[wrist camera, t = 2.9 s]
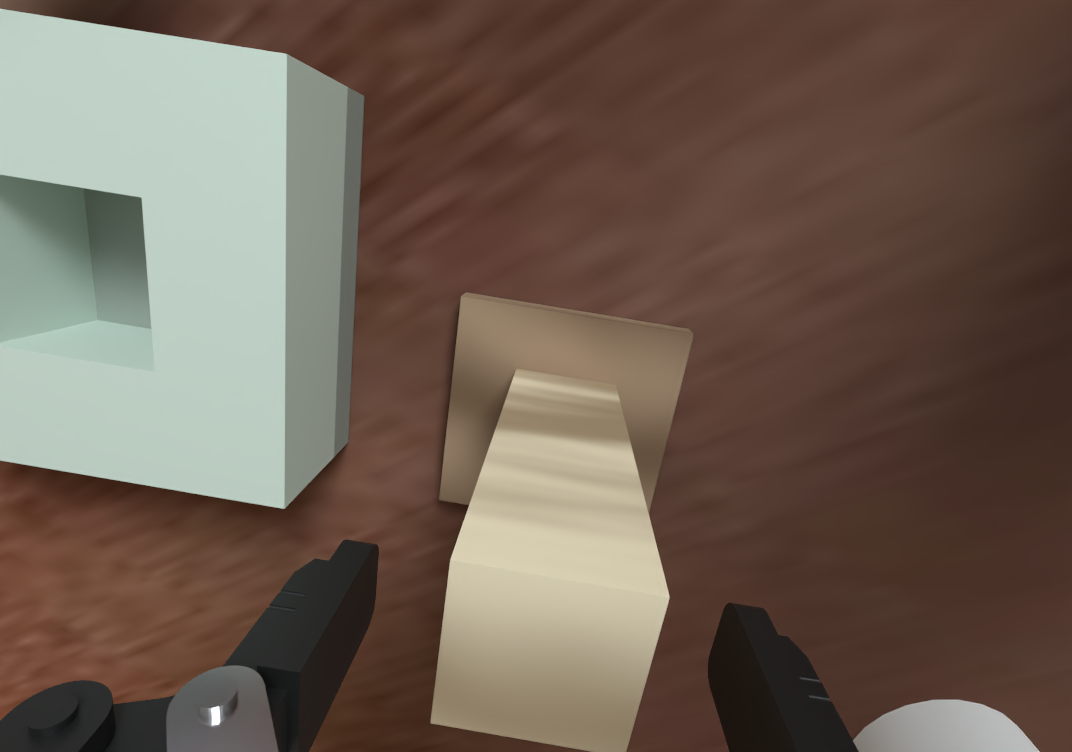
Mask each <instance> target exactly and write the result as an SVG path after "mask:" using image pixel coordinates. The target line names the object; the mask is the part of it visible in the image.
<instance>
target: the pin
mask: <svg viewBox="0 0 1072 752" xmlns="http://www.w3.org/2000/svg"><path fill="white" fill-rule="evenodd" d="M669 598H670V596H669V592H668V589H667V585H666V581H665V577H664V573H663V569H662V565H661V561H660V557H659V553H658V549H657V545H656V541H655V537H654V533H653V529H652V525H651V521H650V517H649V513H648V510H647V506H646V502H645V498H644V494H643V490H642V486H641V482H640V478H639V474H638V470H637V466H636V462H635V458H634V454H633V450H632V446H631V442H630V438H629V434H628V431H627V427H626V423H625V419H624V415H623V411H622V407H621V403H620V399H619V395H618V391H617V387H616V385H613V384H607V383H601V382H595V381H589V380H582V379H576V378H570V377H564V376H558V375H552V374H546V373H540V372H534V371H528V370H522V369H516V371H515V374H514V377H513V380H512V383H511V386H510V388H509V391H508V394H507V397H506V400H505V403H504V406H503V409H502V412H501V415H500V417H499V420H498V423H497V426H496V429H495V432H494V435H493V438H492V441H491V443H490V446H489V449H488V452H487V455H486V458H485V461H484V464H483V467H482V469H481V472H480V475H479V478H478V481H477V484H476V487H475V490H474V493H473V496H472V498H471V501H470V504H469V507H468V510H467V513H466V516H465V519H464V522H463V524H462V527H461V530H460V533H459V536H458V539H457V542H456V545H455V548H454V550H453V553H452V556H451V559H450V566H449V574H448V583H447V591H446V599H445V607H444V616H443V624H442V632H441V640H440V648H439V657H438V665H437V673H436V681H435V690H434V698H433V706H432V714H431V723H432V724H438V725H444V726H449V727H455V728H461V729H466V730H472V731H478V732H483V733H489V734H495V735H500V736H506V737H512V738H517V739H523V740H529V741H535V742H540V743H546V744H552V745H557V746H563V747H569V748H574V749H580V750H586V751H591V752H626V750H627V747H628V743H629V740H630V736H631V733H632V729H633V726H634V722H635V719H636V715H637V711H638V708H639V704H640V701H641V697H642V694H643V690H644V687H645V683H646V680H647V676H648V673H649V669H650V665H651V662H652V658H653V655H654V651H655V648H656V644H657V641H658V637H659V634H660V630H661V627H662V623H663V620H664V616H665V612H666V609H667V605H668V602H669Z"/></svg>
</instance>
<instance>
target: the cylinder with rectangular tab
mask: <svg viewBox="0 0 1072 752" xmlns="http://www.w3.org/2000/svg"><path fill="white" fill-rule="evenodd" d="M853 742H854V744H855V746H856V747H857V749H858V751H859V752H1040V751H1039V750H1038V749H1037V748H1036V747H1035V746H1034V745H1033V743H1032V742H1031V741H1030V740H1029V739H1028V738H1027V736H1026V735H1025V734H1024V733H1023V732H1022V731H1021V729H1020V728H1019V727H1018V726H1017V725H1016V724H1015V723H1013V722H1012V721H1011V720H1010V719H1009V718H1007V717H1006V716H1005V715H1004V714H1003V713H1001V712H998V711H996V710H994V709H992V708H989V707H987V706H985V705H983V704H978V703H973V702H968V701H962V700H930V701H925V702H920V703H915V704H910V705H906V706H904V707H901V708H899V709H896V710H894V711H891V712H889V713H886V714H884V715H882V716H881V717H879V718H878V719H876V720H875V721H873V722H872V723H870V724H869V725H867V726H866V727H865V728H864V729H863V730H862V731H861V732H860V733H859V734H858V735H857V736H856V738H855V739H854V740H853Z"/></svg>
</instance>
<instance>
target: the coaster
mask: <svg viewBox="0 0 1072 752" xmlns="http://www.w3.org/2000/svg"><path fill="white" fill-rule="evenodd" d="M693 336H694V334H693V333H692V332H691V331H690V330H689V329H687V328H681V327H674V326H668V325H662V324H656V323H650V322H644V321H638V320H632V319H626V318H619V317H613V316H607V315H601V314H595V313H589V312H583V311H577V310H571V309H564V308H558V307H552V306H546V305H540V304H534V303H528V302H522V301H516V300H510V299H503V298H497V297H491V296H485V295H479V294H473V293H467V292H466V293H465V294H463V295H462V296H461V303H460V312H459V321H458V330H457V339H456V348H455V358H454V367H453V376H452V385H451V394H450V403H449V413H448V422H447V431H446V440H445V449H444V459H443V468H442V477H441V486H440V495H439V500H442V501H448V502H454V503H460V504H466V505H469V504H470V501H471V498H472V496H473V493H474V490H475V487H476V484H477V481H478V478H479V475H480V472H481V469H482V467H483V464H484V461H485V458H486V455H487V452H488V449H489V446H490V443H491V441H492V438H493V435H494V432H495V429H496V426H497V423H498V420H499V417H500V415H501V412H502V409H503V406H504V403H505V400H506V397H507V394H508V391H509V388H510V386H511V383H512V380H513V377H514V374H515V371H516V369H522V370H528V371H534V372H540V373H546V374H552V375H558V376H564V377H570V378H576V379H582V380H589V381H595V382H601V383H607V384H613V385H616V387H617V391H618V395H619V399H620V403H621V407H622V411H623V415H624V419H625V423H626V427H627V431H628V434H629V438H630V442H631V446H632V450H633V454H634V458H635V462H636V466H637V470H638V474H639V478H640V482H641V486H642V490H643V494H644V498H645V502H646V506H647V510H648V513H649V510H650V506H651V502H652V499H653V495H654V491H655V487H656V483H657V479H658V475H659V471H660V467H661V463H662V459H663V455H664V451H665V447H666V443H667V439H668V435H669V431H670V427H671V423H672V419H673V415H674V411H675V407H676V403H677V399H678V395H679V392H680V388H681V384H682V380H683V376H684V372H685V368H686V364H687V360H688V356H689V352H690V348H691V344H692V340H693Z"/></svg>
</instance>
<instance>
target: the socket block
mask: <svg viewBox="0 0 1072 752" xmlns="http://www.w3.org/2000/svg"><path fill="white" fill-rule="evenodd" d="M363 114H364V96H363V95H361V94H359V93H357V92H355V91H354V90H352V89H350V88H348V87H346V86H344V85H343V84H341V83H339V82H337V81H335V80H333V79H332V78H330V77H328V76H326V75H324V74H322V73H321V72H319V71H317V70H315V69H313V68H311V67H310V66H308V65H306V64H304V63H302V62H300V61H299V60H297V59H295V58H293V57H291V56H289V55H288V54H283V53H277V52H271V51H264V50H258V49H252V48H245V47H239V46H233V45H226V44H220V43H213V42H207V41H201V40H194V39H188V38H182V37H175V36H169V35H163V34H156V33H150V32H144V31H137V30H131V29H125V28H118V27H112V26H106V25H99V24H93V23H87V22H80V21H74V20H68V19H61V18H55V17H49V16H42V15H36V14H30V13H23V12H17V11H11V10H4V9H0V460H1V461H7V462H12V463H18V464H24V465H30V466H36V467H42V468H48V469H53V470H59V471H65V472H71V473H77V474H83V475H89V476H94V477H100V478H106V479H112V480H118V481H124V482H130V483H135V484H141V485H147V486H153V487H159V488H165V489H171V490H176V491H182V492H188V493H194V494H200V495H206V496H212V497H217V498H223V499H229V500H235V501H241V502H247V503H253V504H258V505H264V506H270V507H276V508H282V509H285V508H286V507H287V506H288V505H289V504H290V503H291V502H292V501H293V499H294V498H295V497H296V496H297V495H298V494H299V493H300V492H301V491H302V490H303V489H304V488H305V487H306V486H307V485H308V484H309V483H310V482H311V481H312V480H313V479H314V478H315V477H316V475H317V474H318V473H319V472H320V471H321V470H322V469H323V468H324V467H325V466H326V465H327V464H328V463H329V462H330V461H331V460H332V459H333V458H334V457H335V456H336V455H337V454H338V452H339V451H340V450H341V449H342V448H343V447H344V446H345V445H346V444H347V443H348V438H349V417H350V395H351V373H352V352H353V330H354V308H355V287H356V265H357V244H358V222H359V200H360V179H361V157H362V135H363Z"/></svg>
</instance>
